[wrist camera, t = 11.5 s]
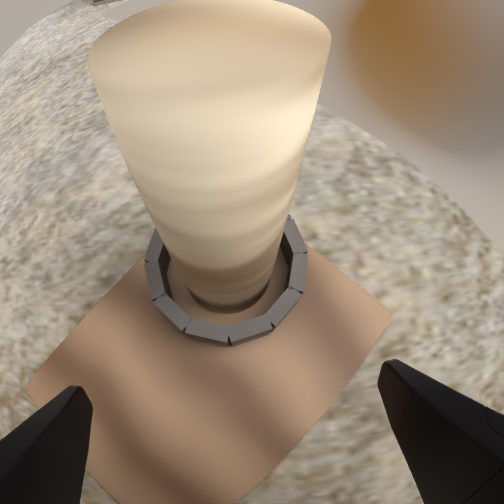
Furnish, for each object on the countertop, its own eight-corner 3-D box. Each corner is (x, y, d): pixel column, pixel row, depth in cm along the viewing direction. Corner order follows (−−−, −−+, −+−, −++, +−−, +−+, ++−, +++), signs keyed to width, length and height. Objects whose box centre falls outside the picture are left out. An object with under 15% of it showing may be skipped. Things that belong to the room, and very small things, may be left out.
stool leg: (260, 322, 16) (329, 107, 3) (174, 301, 16) (39, 91, 4) (277, 242, 18) (331, 8, 6) (198, 226, 19) (154, -2, 6)
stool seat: (182, 534, 12) (169, 562, 8) (40, 389, 15) (5, 385, 12) (380, 320, 18) (409, 305, 15) (225, 199, 22) (222, 164, 18)
